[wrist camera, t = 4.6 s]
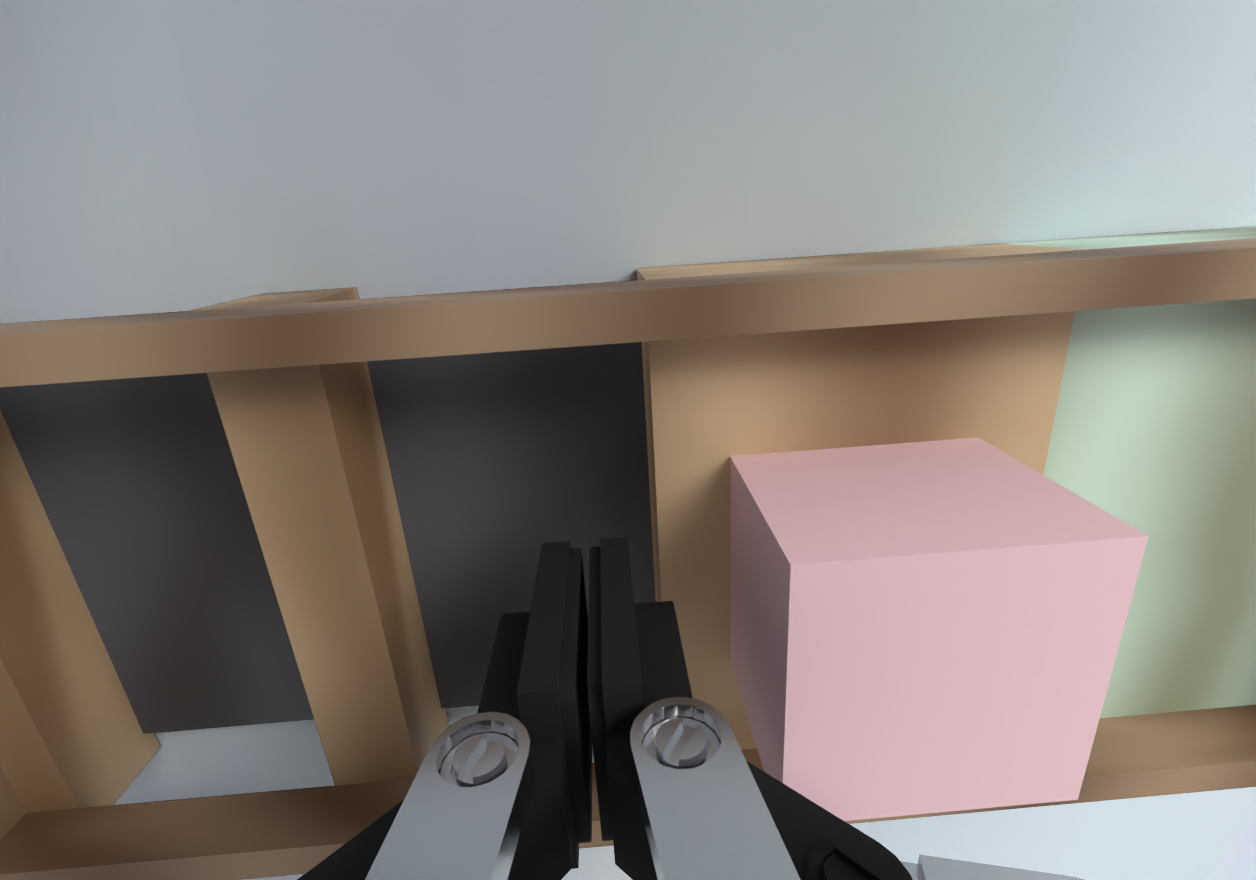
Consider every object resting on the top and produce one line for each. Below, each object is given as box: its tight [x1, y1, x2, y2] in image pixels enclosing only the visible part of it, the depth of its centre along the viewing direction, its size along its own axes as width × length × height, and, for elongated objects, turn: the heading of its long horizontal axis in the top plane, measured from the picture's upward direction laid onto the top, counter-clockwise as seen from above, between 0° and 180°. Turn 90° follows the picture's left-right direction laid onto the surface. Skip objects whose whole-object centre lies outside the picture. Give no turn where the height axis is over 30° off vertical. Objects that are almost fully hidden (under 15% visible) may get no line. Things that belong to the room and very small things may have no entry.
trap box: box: [0, 226, 1256, 880], centre depth 13 cm, size 32×12×4 cm, turn 94°
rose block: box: [730, 437, 1149, 821], centre depth 11 cm, size 5×5×4 cm
